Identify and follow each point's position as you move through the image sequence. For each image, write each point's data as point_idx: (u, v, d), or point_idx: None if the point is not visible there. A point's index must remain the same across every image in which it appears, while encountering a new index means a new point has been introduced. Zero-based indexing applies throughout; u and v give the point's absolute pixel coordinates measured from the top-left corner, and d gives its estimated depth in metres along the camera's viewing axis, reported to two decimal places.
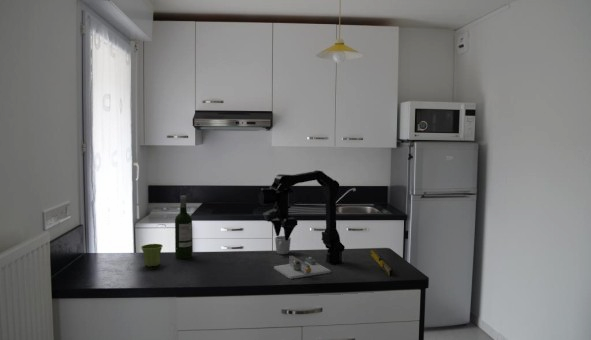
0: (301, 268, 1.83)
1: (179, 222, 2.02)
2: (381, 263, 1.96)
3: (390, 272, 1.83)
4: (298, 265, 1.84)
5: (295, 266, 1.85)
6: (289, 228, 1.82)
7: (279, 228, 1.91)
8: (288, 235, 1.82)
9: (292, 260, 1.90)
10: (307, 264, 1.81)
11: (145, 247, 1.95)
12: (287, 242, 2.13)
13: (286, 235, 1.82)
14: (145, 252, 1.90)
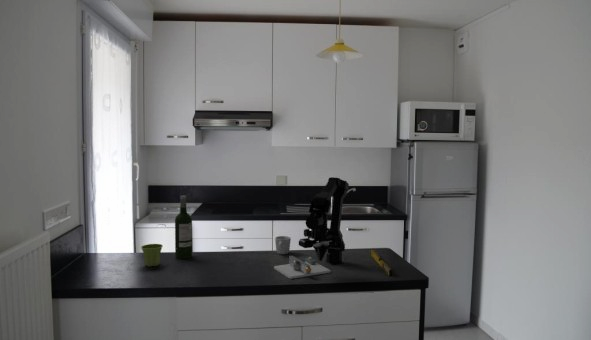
0: (301, 268, 1.83)
1: (179, 222, 2.02)
2: (381, 263, 1.96)
3: (390, 272, 1.83)
4: (298, 265, 1.84)
5: (295, 266, 1.85)
6: (318, 249, 1.82)
7: None
8: (318, 256, 1.82)
9: (292, 260, 1.90)
10: (307, 264, 1.81)
11: (145, 247, 1.95)
12: (287, 242, 2.13)
13: (317, 255, 1.83)
14: (145, 252, 1.90)
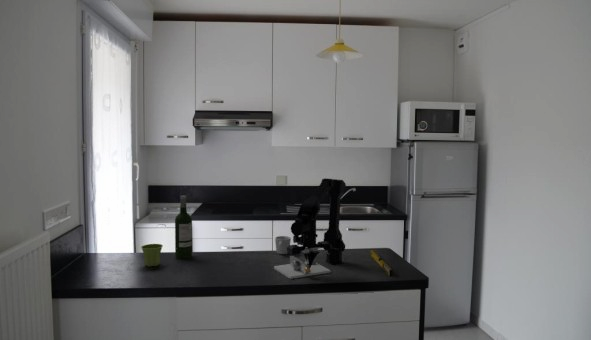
0: (301, 268, 1.83)
1: (179, 222, 2.02)
2: (381, 263, 1.96)
3: (390, 272, 1.83)
4: (298, 265, 1.84)
5: (295, 266, 1.85)
6: (307, 255, 1.80)
7: None
8: (308, 262, 1.80)
9: (292, 260, 1.90)
10: (306, 264, 1.81)
11: (145, 247, 1.95)
12: (287, 242, 2.13)
13: (306, 261, 1.81)
14: (145, 252, 1.90)
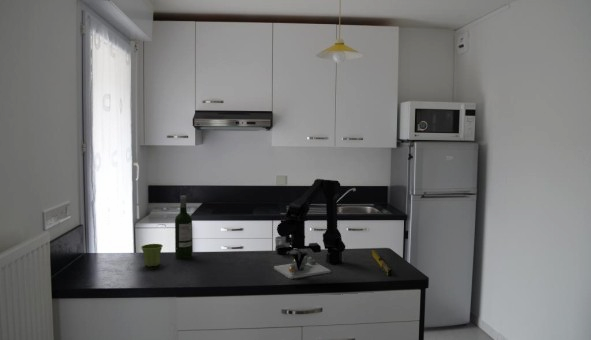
0: None
1: (179, 222, 2.02)
2: (381, 263, 1.96)
3: (389, 272, 1.83)
4: None
5: None
6: None
7: None
8: (296, 263, 1.79)
9: None
10: (294, 264, 1.80)
11: (145, 247, 1.95)
12: None
13: (295, 262, 1.80)
14: (145, 252, 1.90)
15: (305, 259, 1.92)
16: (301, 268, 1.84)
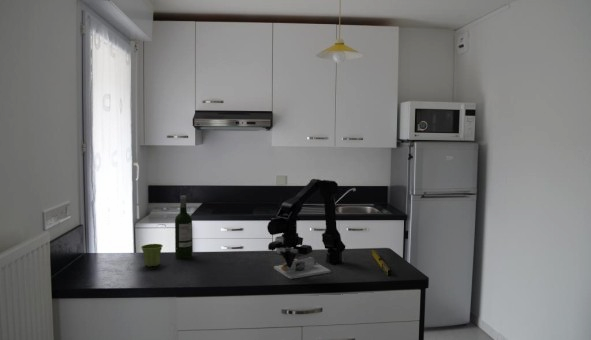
0: None
1: (179, 222, 2.02)
2: (381, 263, 1.96)
3: (388, 272, 1.83)
4: None
5: None
6: None
7: None
8: None
9: None
10: None
11: (145, 247, 1.95)
12: None
13: None
14: (145, 252, 1.90)
15: (310, 260, 1.90)
16: (298, 268, 1.84)
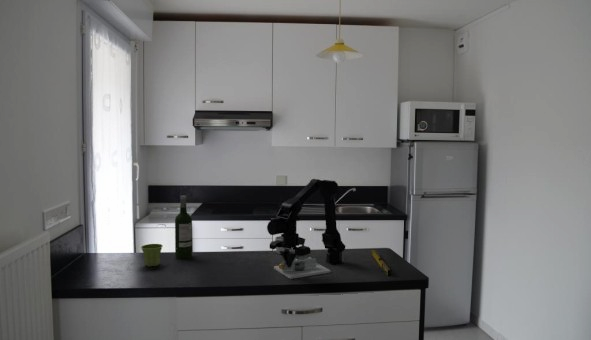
0: None
1: (179, 222, 2.02)
2: (381, 263, 1.96)
3: (388, 272, 1.83)
4: None
5: None
6: None
7: None
8: None
9: None
10: (285, 262, 1.83)
11: (145, 247, 1.95)
12: None
13: None
14: (145, 252, 1.90)
15: (312, 261, 1.88)
16: (297, 268, 1.84)
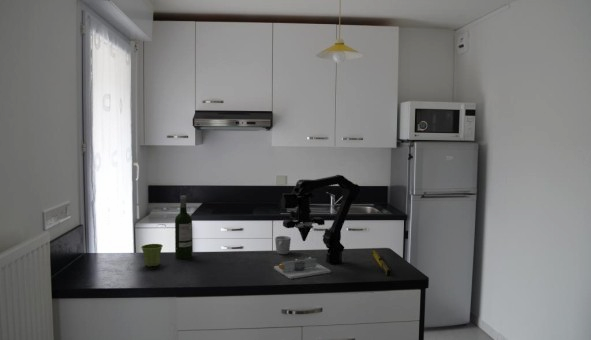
0: None
1: (179, 222, 2.02)
2: (381, 263, 1.96)
3: (388, 272, 1.83)
4: None
5: None
6: None
7: (305, 234, 1.94)
8: (302, 236, 1.94)
9: None
10: (285, 262, 1.83)
11: (145, 247, 1.95)
12: (287, 242, 2.13)
13: (301, 235, 1.94)
14: (145, 252, 1.90)
15: (312, 261, 1.88)
16: (297, 268, 1.84)
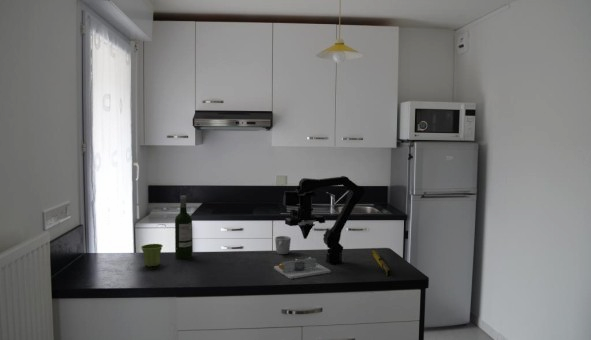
0: None
1: (179, 222, 2.02)
2: (381, 263, 1.96)
3: (388, 272, 1.83)
4: None
5: None
6: (303, 227, 1.96)
7: None
8: (303, 234, 1.96)
9: None
10: (285, 262, 1.83)
11: (145, 247, 1.95)
12: (287, 242, 2.13)
13: (302, 233, 1.97)
14: (145, 252, 1.90)
15: (312, 261, 1.88)
16: (297, 268, 1.84)
